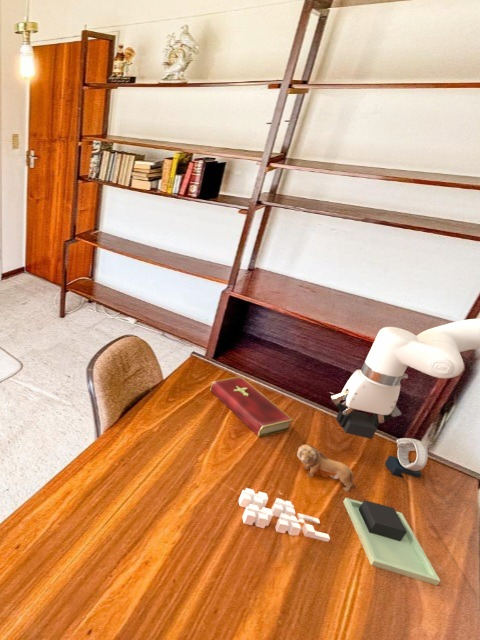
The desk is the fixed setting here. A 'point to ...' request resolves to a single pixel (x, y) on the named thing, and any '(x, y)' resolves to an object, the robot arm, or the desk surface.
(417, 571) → the pale green flat tray
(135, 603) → the desk surface
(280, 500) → the modular blocks
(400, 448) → the watch
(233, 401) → the hardcover book
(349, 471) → the lion figurine
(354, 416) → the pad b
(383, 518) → the black square block
